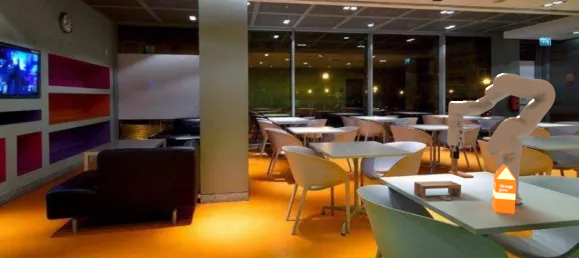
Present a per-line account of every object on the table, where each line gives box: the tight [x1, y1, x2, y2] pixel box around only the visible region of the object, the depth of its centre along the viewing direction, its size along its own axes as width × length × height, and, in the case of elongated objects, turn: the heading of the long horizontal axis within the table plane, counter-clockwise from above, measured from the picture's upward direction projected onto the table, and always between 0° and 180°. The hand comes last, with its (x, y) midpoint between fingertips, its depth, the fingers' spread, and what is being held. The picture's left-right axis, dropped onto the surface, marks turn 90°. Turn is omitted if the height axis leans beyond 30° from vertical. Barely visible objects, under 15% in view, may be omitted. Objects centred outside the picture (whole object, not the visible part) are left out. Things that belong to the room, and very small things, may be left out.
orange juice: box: [491, 164, 516, 215], centre depth 178 cm, size 8×9×20 cm
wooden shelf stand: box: [413, 180, 462, 199], centre depth 206 cm, size 10×20×6 cm, turn 98°
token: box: [440, 195, 452, 202], centre depth 198 cm, size 5×5×2 cm
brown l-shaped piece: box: [448, 146, 475, 179], centre depth 213 cm, size 15×5×14 cm, turn 9°
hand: (454, 158), depth 219 cm, fingers closed on brown l-shaped piece
